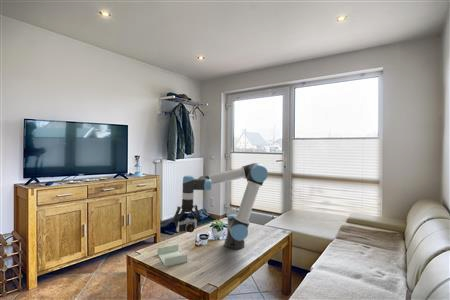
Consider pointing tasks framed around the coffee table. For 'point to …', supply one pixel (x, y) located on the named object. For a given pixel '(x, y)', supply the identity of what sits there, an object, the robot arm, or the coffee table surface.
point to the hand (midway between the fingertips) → (186, 230)
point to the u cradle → (171, 255)
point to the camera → (186, 225)
